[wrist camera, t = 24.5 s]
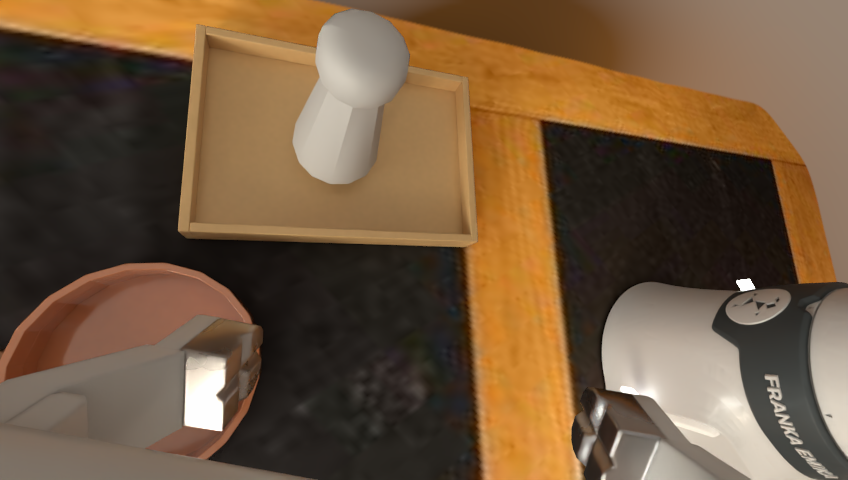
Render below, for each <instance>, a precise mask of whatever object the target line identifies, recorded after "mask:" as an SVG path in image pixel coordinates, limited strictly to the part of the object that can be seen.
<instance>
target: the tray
mask: <svg viewBox="0 0 848 480" xmlns="http://www.w3.org/2000/svg"><path fill="white" fill-rule="evenodd" d="M315 56H316V47H310V46H305V45H300V44H295V43H290V42H285V41H280V40H275V39H270V38H265V37H260V36H255V35H250V34H244V33H239V32H234V31H229V30H224V29H219V28H214V27H209V26H207V27H206V26H204V25H199V24H197V25H196V33H195V44H194V56H193V67H192V78H191V89H190V100H189V111H188V123H187V134H186V145H185V156H184V167H183V178H182V190H181V201H180V212H179V223H178V231H179V232H180V233H181V234H182V235H183V236H184V237H185V238H189V239H221V240H253V241H285V242H317V243H349V244H381V245H413V246H445V247H467V246H469V245H472V244H474V243H477V242H478V232H477V216H476V199H475V183H474V167H473V150H472V134H471V118H470V101H469V85H468V77H463V76H458V75H453V74H448V73H443V72H437V71H432V70H427V69H422V68H417V67H412V66H408V73H407V77H406V81H405V83H404V84H403V86H402V87H401V89H400V90H399V91H398V93H397V94H396V95H395V97H394V98H393V100H392V101H391V102H389V103H386V104H384V111H383V118H382V126H381V133H380V140H379V147H378V153H377V160H376V162H375V164H374V165H373V166H372V168H371V169H370V171H369V172H368V174H367V175H366V176H364V177H362V178H360V179H358V180H356V181H354V182H352V183H349V184H329V183H326V182H324V181H322V180H319V179H317V178H315V177H312V176H311V175H310V174H309V173H308V171H307V170H306V169H305V168H304V167H303V166H302V165H301V164H300V163H299V161H298V158H297V155H296V152H295V149H294V146H293V142H292V140H293V135H294V129H295V124H296V122H297V120H298V118H299V116H300V114H301V112H302V110H303V108H304V106H305V104H306V102H307V100H308V98H309V96H310V94H311V92H312V90H313V89H314V87H315V85H316V83H317V81H318V79H319V77H320V76H319V73H318V70H317V67H316V63H315Z"/></svg>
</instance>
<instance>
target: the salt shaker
mask: <svg viewBox="0 0 848 480" xmlns="http://www.w3.org/2000/svg"><path fill="white" fill-rule="evenodd" d="M409 58H410V54H409V51H408V48H407V46H406V43H405V40H404V38H403V36H402V35H401V34H400V33H399V32H398V30H397V29H396V28H395V27H394V26H393V25H392V23H391V22H390V21H388V20H386V19H384V18H382V17H380V16H379V15H377V14H375V13H373V12H370V11H364V10H358V9H349V10H346V11H342V12H339V13H336V14H334V15H333V16H332V17H331V18H330V19H329V20H328V21H327V22H326V23H325V24H324V25H323V26H322V29H321V31H320V33H319V36H318V42H317V48H316V56H315V63H316V67H317V70H318V73H319V76H320V77H319V79H318V81H317V83H316V85H315V87H314V89H313V90H312V92H311V94H310V96H309V98H308V100H307V102H306V104H305V106H304V108H303V110H302V112H301V114H300V116H299V118H298V120H297V122H296V124H295V129H294V135H293V140H292V142H293V146H294V149H295V152H296V155H297V158H298V161H299V163H300V164H301V165H302V166H303V167H304V168H305V169H306V170H307V171H308V173H309V174H310V175H311V176H312V177H315V178H317V179H319V180H322V181H324V182H326V183H329V184H349V183H352V182H354V181H356V180H358V179H360V178H362V177H364V176H366V175H367V174H368V172H369V171H370V169H371V168H372V166H373V165H374V164H375V162H376V160H377V153H378V147H379V140H380V133H381V126H382V118H383V111H384V104H386V103H389V102H391V101H392V100H393V98H394V97H395V95H396V94H397V93H398V91H399V90H400V89H401V87H402V86H403V84H404V83H405V81H406V77H407V73H408V66H409Z"/></svg>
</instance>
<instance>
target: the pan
mask: <svg viewBox="0 0 848 480" xmlns="http://www.w3.org/2000/svg"><path fill="white" fill-rule="evenodd" d="M196 315H208V316H214V317H220V318H223V319H228V320H233V321H238V322H243V323H248V324H253V325H256V324H255V322H254V319H253V316H252V314H251V313H250V312H249V310H248V309H247V308H246V307H245V305H244V304H243V303H242V302H241V300H240V299H239V298H238V297H237V295H236V294H235V293H234V292H232V291H231V290H229V289H228V288H226V287H224V286H223V285H221V284H220V283H218V282H216V281H215V280H213V279H212V278H210V277H209V276H207V275H205V274H204V273H202V272H200V271H196V270H192V269H188V268H184V267H181V266H177V265H173V264H169V263H127V264H122V265H119V266H115V267H112V268H108V269H104V270H101V271H97V272H94V273H90V274H87V275H84V276H83V277H81V278H79V279H78V280H76V281H74V282H72V283H71V284H69V285H67V286H65V287H64V288H62V289H60V290H59V291H57V292H55V293H53V294H52V295H50V296H48V297H47V298H46V299H45V300H44V301H43V302H42V303H41V304H40V305H39V306H38V307H37V308H36V309H35V310H34V311H33V312H32V313H31V314H30V315H29V316H28V317H27V318H26V319H25V320H24V321H23V322H22V323H21V324H20V325H19V326H18V327H17V329H16V330H15V332H14V334H13V336H12V338H11V340H10V342H9V343H8V345H7V347H6V349H5V351H4V353H3V355H2V357H1V359H0V383H2V382H4V381H6V380H8V379H12V378H16V377H20V376H24V375H28V374H32V373H36V372H40V371H44V370H48V369H51V368H55V367H59V366H63V365H67V364H71V363H75V362H79V361H83V360H87V359H91V358H95V357H99V356H103V355H107V354H111V353H115V352H119V351H123V350H127V349H131V348H135V347H139V346H143V345H147V344H148V345H156V344H157V343H159V342H160V341H161V340H163V339H164V338H166V337H167V336H168V335H170V334H171V333H173V332H174V331H175V330H177V329H178V328H180V327H181V326H182V325H184V324H185V323H187V322H188V321H189V320H191V319H192V318H194V317H195V316H196ZM256 351H257V353H258V354H259V356H260V358H261V345H260V347H259V348H258V349H257V350H256ZM260 374H261V367H260V372H259V376H258V379H257V381H256V384H255V386H254V388H253V390H252V392H251V393H250V394H249V396H248V397H247V398H246V399H243V400H241V401H239V402H238V411H237V412H236V413H235V415H234V416H233V417H232V419H231V420H230V421H229V423H228V424H227V425H226V427H225V428H224V429H223V431H216V430H210V429H203V428H196V427H190V426H183V425H182V428H181V429H179V430H177V431H175V432H173V433H172V434H170V435H168V436H166V437H164V438H163V439H161V440H159V441H157V442H155V443H154V444H152V445H150V446H148V447H146V448H145V449H150V450H155V451H161V452H166V453H172V454H177V455H183V456H188V457H194V458H199V459H205V460H206V459H208V458H209V457H210V456H211V455H212V454H214V453H215V452H216V451H217V450H218V449H219V448H221V447H222V446H223V445H224V444H225V443H226V442H227V441H228V439H229V438H230V436H231V435H232V433H233V432H234V431H235V429H236V428H237V426H238V425H239V423H240V422H241V420H242V419H243V418H244V416H245V415H246V413H247V412H248V410H249V407H250V404H251V401H252V398H253V395H254V392H255V389H256V386H257V383H258V380H259V377H260Z"/></svg>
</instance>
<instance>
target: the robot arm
mask: <svg viewBox="0 0 848 480" xmlns="http://www.w3.org/2000/svg"><path fill="white" fill-rule="evenodd" d="M737 284H738V285H739V287H740V289H741V291H725V290H708V289H696V288H686V287H679V286H673V285H667V284H662V283H657V282H645V283H640V284H637V285H635V286H633V287H631V288H630V289H628V290H627V291H625V292H624V293H623V294H622V295H621V296H620V297H619V298H618V300H617V301H616V302H615V304H614V305H613V307H612V309H611V311H610V313H609V315H608V318H607V321H606V324H605V328H604V332H603V339H602V365H603V372H604V378H605V384H606V390H605V389H598V388H591V387H587V388H586V389H585V391H584V392H583V395H582V398H581V400H580V402H581V404H582V407H583V409H584V410H583V411H582V412H580V413H579V414H578V415H576V416H575V419H574V422H573V426H572V439H571V440H572V445H573V450H574V452H575V455H576V457H577V458H578V459H579V460H580V461H581V462H582V463H583V464H584V465H585V466H586V468H585V471H584V476H585V478H586V480H848V284H847V283H842V282H828V283H804V284H789V285H776V286H769V287H762V288H756V289H755V287H754V286H753V284H752V282H751V280H750V279H745V280H738V281H737ZM262 343H263V329H262V327H261V326H258V325H253V324H248V323H243V322H238V321H233V320H228V319H223V318H220V317H214V316H208V315H196V316H195V317H194V318H192V319H191V320H189V321H188V322H187V323H185V324H184V325H182V326H181V327H180V328H178V329H177V330H175V331H174V332H173V333H171V334H170V335H168V336H167V337H166V338H164V339H163V340H161V341H160V342H159V343H157V344H156V345H148V344H147V345H143V346H139V347H135V348H131V349H127V350H123V351H119V352H115V353H111V354H107V355H103V356H99V357H95V358H91V359H87V360H83V361H79V362H75V363H71V364H67V365H63V366H59V367H55V368H51V369H48V370H44V371H40V372H36V373H32V374H28V375H24V376H20V377H16V378H12V379H8V380H6V381H4V382H2V383H0V480H316V479H310V478H305V477H299V476H294V475H288V474H282V473H277V472H271V471H266V470H260V469H255V468H249V467H244V466H238V465H233V464H227V463H222V462H216V461H210V460H205V459H199V458H194V457H188V456H183V455H177V454H172V453H166V452H161V451H155V450H150V449H145V448H146V447H148V446H150V445H152V444H154V443H155V442H157V441H159V440H161V439H163V438H164V437H166V436H168V435H170V434H172V433H173V432H175V431H177V430H179V429H181V428H182V425H183V426H190V427H196V428H203V429H210V430H216V431H223V429H224V428H225V427H226V425H227V424H228V423H229V421H230V420H231V419H232V417H233V416H234V415H235V413H236V412H237V411H238V402H239V401H241V400H243V399H246V398H247V397H248V396H249V394H250V393H251V392H252V390H253V388H254V386H255V384H256V381H257V379H258V376H259V372H260V367H261V358H260V356H259V354H258V353H257V351H256V350H257V349H258V348H259V347H260V345H261V344H262Z"/></svg>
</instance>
